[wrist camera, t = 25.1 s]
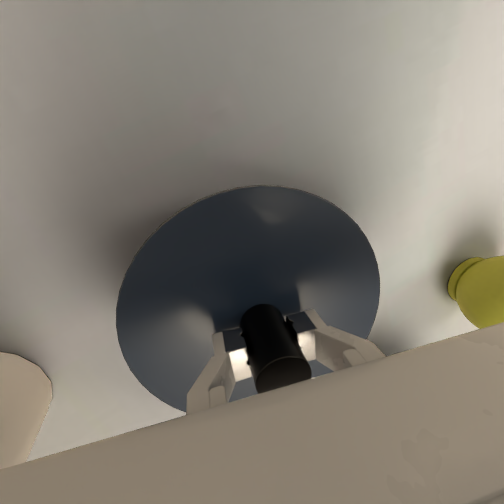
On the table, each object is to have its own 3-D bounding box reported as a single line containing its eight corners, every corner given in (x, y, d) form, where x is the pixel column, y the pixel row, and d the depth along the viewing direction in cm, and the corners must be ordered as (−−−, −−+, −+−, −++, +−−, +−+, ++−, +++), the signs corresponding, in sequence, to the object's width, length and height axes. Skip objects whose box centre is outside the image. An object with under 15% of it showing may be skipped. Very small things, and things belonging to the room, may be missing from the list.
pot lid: (75, 213, 11) (-8, 253, 7) (372, 161, 13) (468, 165, 9) (164, 430, 17) (152, 535, 12) (365, 370, 19) (422, 440, 14)
